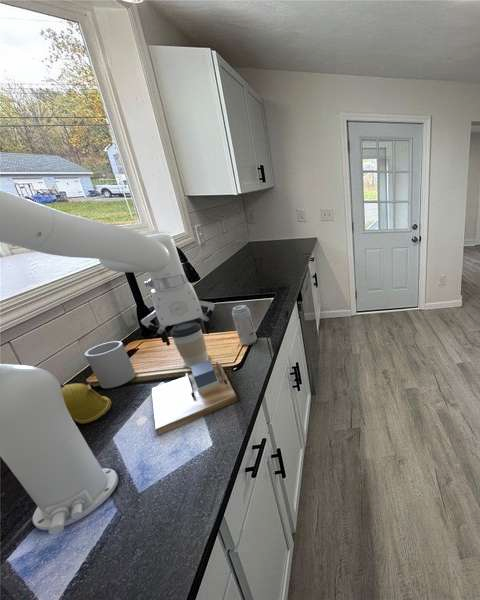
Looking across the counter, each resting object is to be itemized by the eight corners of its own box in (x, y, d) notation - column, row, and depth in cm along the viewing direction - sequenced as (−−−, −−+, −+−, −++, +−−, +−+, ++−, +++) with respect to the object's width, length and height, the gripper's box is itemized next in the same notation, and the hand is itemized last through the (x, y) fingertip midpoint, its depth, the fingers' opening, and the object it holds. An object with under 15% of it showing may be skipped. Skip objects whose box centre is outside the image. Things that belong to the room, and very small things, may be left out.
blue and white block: (219, 384, 95) (214, 370, 93) (198, 393, 91) (193, 378, 89) (213, 369, 103) (208, 355, 101) (193, 376, 99) (188, 362, 98)
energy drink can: (256, 344, 121) (247, 308, 115) (239, 347, 119) (229, 311, 114) (257, 337, 126) (248, 303, 121) (241, 340, 125) (231, 305, 119)
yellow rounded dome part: (103, 428, 83) (77, 382, 77) (63, 439, 80) (34, 392, 74) (119, 402, 93) (97, 359, 87) (84, 411, 90) (59, 367, 84)
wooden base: (237, 401, 90) (234, 391, 89) (158, 435, 79) (153, 424, 78) (221, 368, 106) (219, 360, 105) (153, 393, 96) (149, 384, 94)
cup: (98, 381, 104) (82, 350, 99) (132, 368, 110) (119, 338, 105) (103, 392, 98) (86, 359, 93) (138, 377, 104) (124, 346, 100)
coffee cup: (202, 369, 107) (188, 330, 101) (176, 370, 107) (161, 331, 101) (217, 354, 115) (205, 318, 109) (193, 355, 115) (179, 319, 110)
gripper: (128, 293, 76) (152, 353, 83) (208, 277, 86) (224, 332, 92) (128, 286, 82) (151, 343, 88) (203, 272, 92) (219, 324, 98)
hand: (188, 338), depth 90 cm, fingers open, 9 cm apart
